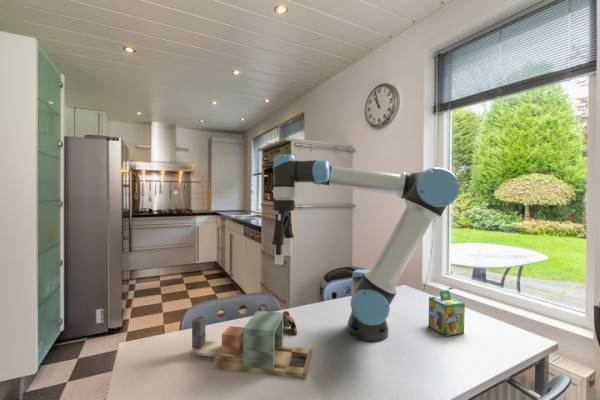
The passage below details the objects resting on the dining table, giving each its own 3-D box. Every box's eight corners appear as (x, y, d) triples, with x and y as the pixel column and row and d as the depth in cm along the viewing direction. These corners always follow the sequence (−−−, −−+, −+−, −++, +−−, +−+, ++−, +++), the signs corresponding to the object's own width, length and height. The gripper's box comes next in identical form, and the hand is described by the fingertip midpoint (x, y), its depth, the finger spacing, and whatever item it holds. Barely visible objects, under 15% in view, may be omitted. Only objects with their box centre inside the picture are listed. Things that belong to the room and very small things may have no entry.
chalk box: (445, 337, 103) (446, 296, 102) (427, 326, 112) (427, 288, 111) (465, 333, 106) (466, 294, 105) (445, 323, 114) (446, 286, 114)
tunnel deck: (311, 353, 91) (312, 314, 91) (305, 379, 79) (306, 334, 78) (230, 345, 96) (230, 308, 96) (212, 368, 83) (212, 325, 83)
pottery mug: (298, 340, 101) (288, 323, 99) (275, 349, 102) (264, 332, 100) (299, 317, 112) (290, 301, 110) (279, 326, 114) (269, 310, 112)
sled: (258, 348, 91) (258, 319, 91) (251, 360, 84) (251, 329, 84) (199, 342, 95) (199, 314, 94) (188, 353, 88) (188, 324, 88)
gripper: (281, 198, 112) (281, 252, 112) (263, 199, 87) (262, 268, 87) (300, 199, 110) (299, 252, 111) (286, 200, 86) (286, 269, 86)
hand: (283, 259), depth 99 cm, fingers open, 13 cm apart
